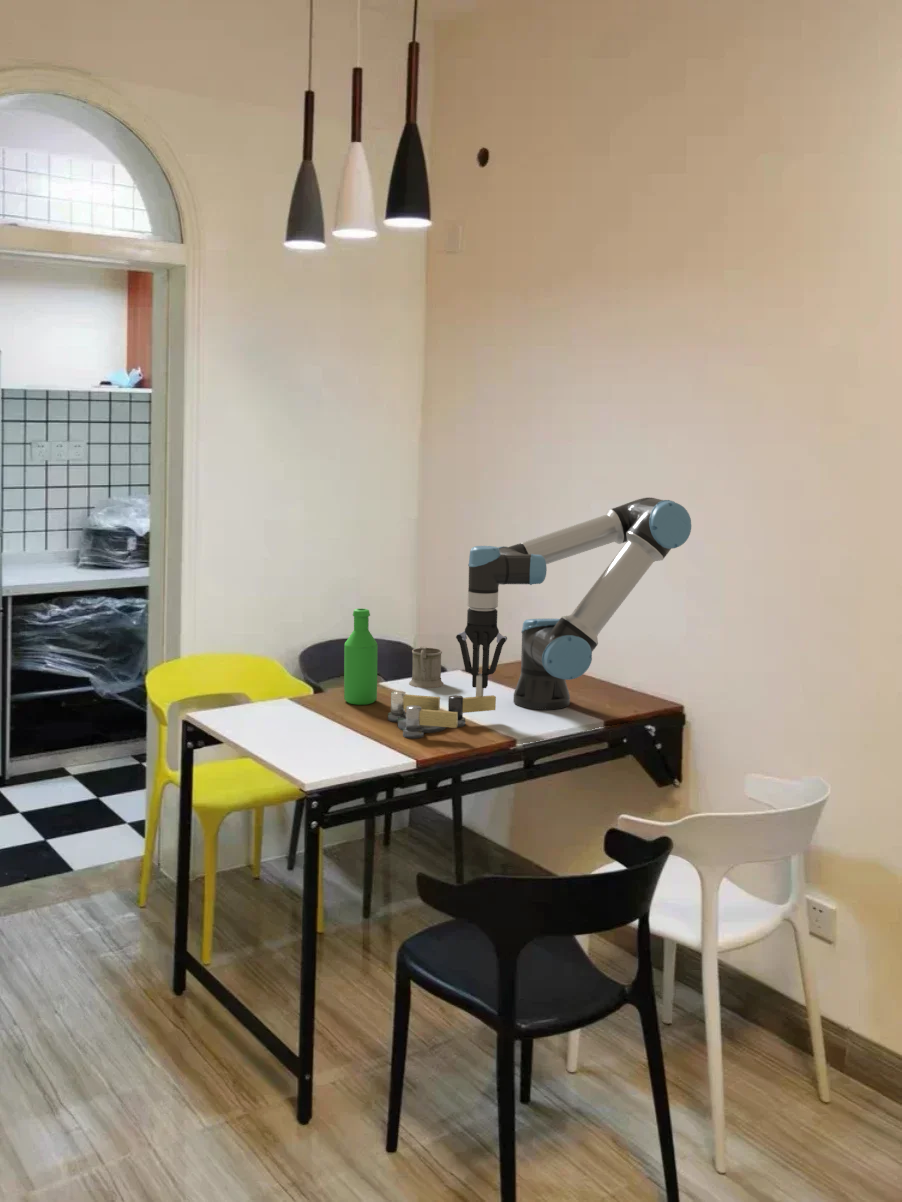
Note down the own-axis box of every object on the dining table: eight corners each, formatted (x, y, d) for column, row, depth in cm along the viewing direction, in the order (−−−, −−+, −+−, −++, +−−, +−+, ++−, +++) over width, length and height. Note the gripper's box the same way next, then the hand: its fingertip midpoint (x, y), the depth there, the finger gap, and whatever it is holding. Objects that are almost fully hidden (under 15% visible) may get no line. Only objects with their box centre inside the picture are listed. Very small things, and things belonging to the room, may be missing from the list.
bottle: (379, 698, 306) (380, 607, 302) (374, 706, 297) (375, 612, 293) (347, 696, 307) (348, 606, 303) (341, 704, 298) (341, 611, 294)
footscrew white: (389, 715, 284) (389, 693, 283) (393, 711, 287) (393, 690, 286) (437, 719, 281) (437, 697, 280) (440, 715, 284) (441, 694, 283)
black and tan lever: (451, 720, 279) (451, 699, 278) (445, 717, 283) (446, 695, 282) (497, 716, 284) (497, 695, 283) (491, 713, 287) (491, 692, 286)
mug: (412, 679, 329) (413, 638, 327) (445, 680, 328) (446, 640, 326) (403, 690, 315) (404, 648, 313) (438, 692, 314) (439, 650, 312)
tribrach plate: (467, 722, 284) (467, 713, 283) (451, 742, 267) (451, 732, 266) (391, 716, 288) (391, 707, 288) (370, 735, 271) (370, 725, 271)
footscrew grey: (404, 730, 270) (404, 708, 269) (408, 727, 273) (408, 704, 272) (455, 735, 267) (455, 712, 266) (458, 731, 270) (458, 708, 270)
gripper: (510, 607, 284) (507, 698, 288) (460, 604, 287) (457, 694, 291) (505, 612, 277) (501, 705, 281) (453, 608, 280) (451, 701, 284)
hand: (479, 700), depth 286 cm, fingers closed
